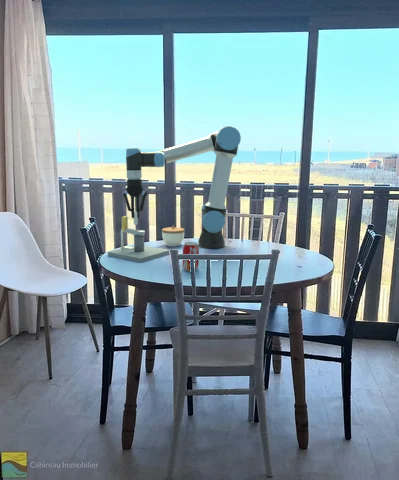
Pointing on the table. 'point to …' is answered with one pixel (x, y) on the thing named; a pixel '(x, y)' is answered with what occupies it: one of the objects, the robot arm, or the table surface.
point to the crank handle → (131, 231)
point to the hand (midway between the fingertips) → (135, 224)
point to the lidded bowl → (173, 236)
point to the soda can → (190, 249)
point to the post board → (139, 255)
